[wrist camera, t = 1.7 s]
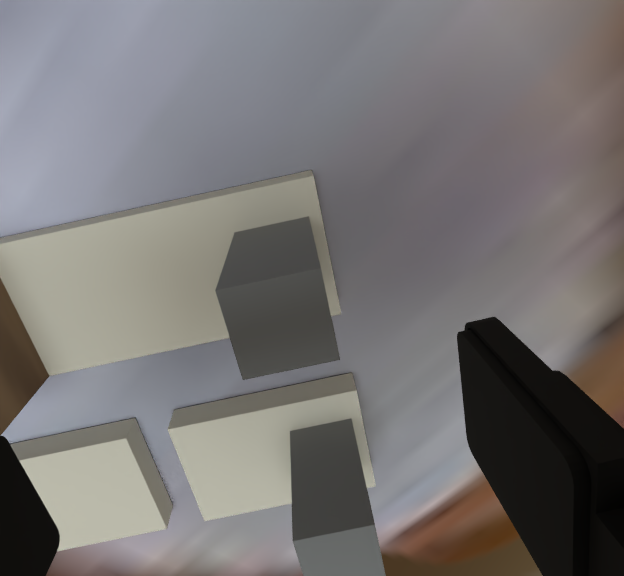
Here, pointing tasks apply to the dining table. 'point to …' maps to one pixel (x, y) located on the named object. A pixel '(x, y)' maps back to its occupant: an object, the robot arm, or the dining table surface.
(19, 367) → the walnut cube
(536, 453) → the robot arm
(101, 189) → the dining table surface
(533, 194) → the dining table surface
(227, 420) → the broken strip
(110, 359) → the cream strip
